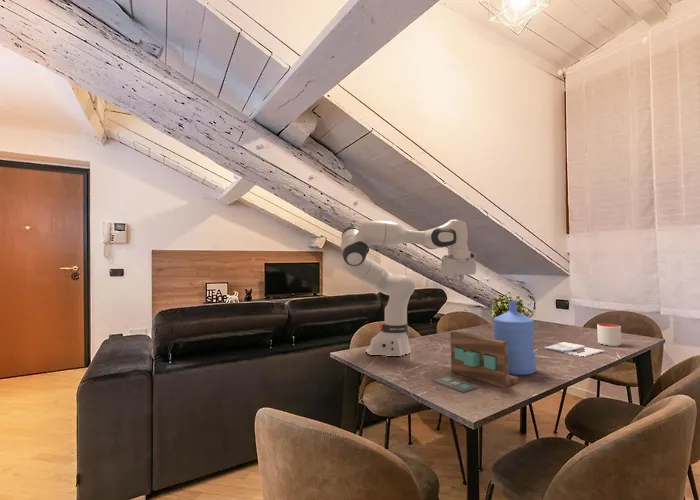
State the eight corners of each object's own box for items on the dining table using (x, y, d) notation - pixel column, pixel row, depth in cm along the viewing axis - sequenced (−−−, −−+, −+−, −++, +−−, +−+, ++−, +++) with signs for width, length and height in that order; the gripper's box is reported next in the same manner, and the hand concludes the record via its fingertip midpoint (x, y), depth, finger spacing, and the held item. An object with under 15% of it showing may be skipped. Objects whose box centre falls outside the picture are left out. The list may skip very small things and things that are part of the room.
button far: (463, 361, 144) (463, 350, 144) (454, 358, 147) (454, 347, 147) (475, 358, 147) (474, 347, 148) (466, 356, 151) (466, 345, 151)
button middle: (473, 366, 136) (472, 354, 136) (463, 364, 140) (463, 352, 140) (485, 363, 140) (484, 352, 140) (475, 360, 144) (475, 349, 144)
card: (463, 392, 126) (463, 390, 126) (433, 381, 138) (433, 379, 138) (478, 388, 130) (478, 385, 130) (448, 377, 142) (448, 375, 142)
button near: (494, 369, 132) (494, 357, 132) (484, 366, 136) (483, 355, 136) (506, 366, 136) (505, 354, 136) (495, 363, 139) (495, 352, 140)
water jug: (516, 378, 140) (514, 305, 141) (486, 367, 154) (484, 301, 155) (544, 372, 146) (542, 302, 147) (513, 362, 160) (511, 298, 161)
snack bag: (565, 345, 192) (565, 340, 192) (607, 353, 174) (607, 348, 174) (542, 350, 183) (542, 345, 183) (584, 359, 165) (584, 354, 165)
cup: (626, 346, 184) (625, 326, 184) (606, 347, 184) (605, 327, 184) (612, 342, 194) (611, 323, 194) (593, 342, 194) (592, 323, 194)
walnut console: (503, 387, 130) (502, 342, 130) (451, 371, 150) (450, 332, 151) (518, 382, 135) (517, 339, 135) (466, 367, 155) (465, 329, 155)
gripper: (447, 255, 159) (448, 286, 158) (478, 254, 170) (478, 284, 169) (436, 255, 164) (437, 286, 164) (467, 254, 175) (467, 283, 175)
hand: (458, 285), depth 167 cm, fingers closed
